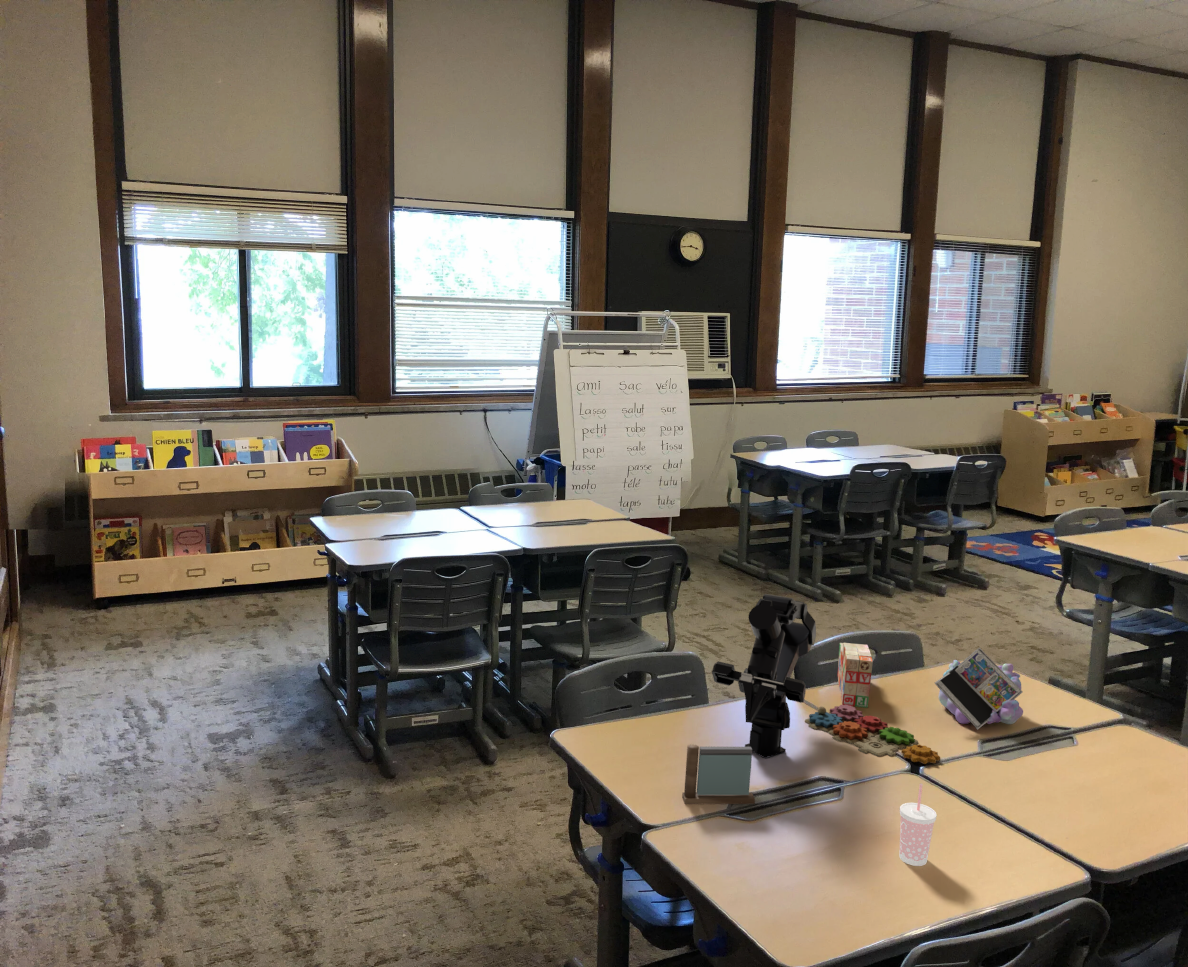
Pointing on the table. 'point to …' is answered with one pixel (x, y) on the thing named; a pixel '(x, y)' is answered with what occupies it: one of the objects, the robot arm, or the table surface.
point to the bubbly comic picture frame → (980, 691)
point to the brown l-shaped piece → (693, 798)
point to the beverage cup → (916, 831)
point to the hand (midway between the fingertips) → (748, 721)
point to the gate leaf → (724, 770)
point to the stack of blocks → (854, 674)
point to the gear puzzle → (869, 734)
